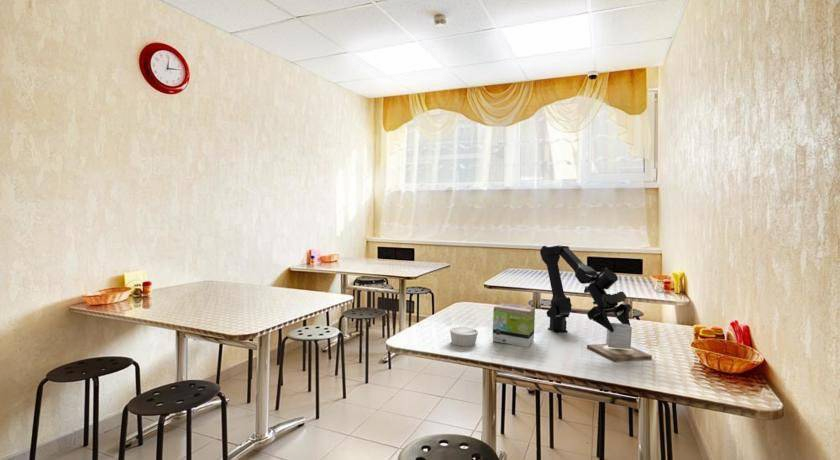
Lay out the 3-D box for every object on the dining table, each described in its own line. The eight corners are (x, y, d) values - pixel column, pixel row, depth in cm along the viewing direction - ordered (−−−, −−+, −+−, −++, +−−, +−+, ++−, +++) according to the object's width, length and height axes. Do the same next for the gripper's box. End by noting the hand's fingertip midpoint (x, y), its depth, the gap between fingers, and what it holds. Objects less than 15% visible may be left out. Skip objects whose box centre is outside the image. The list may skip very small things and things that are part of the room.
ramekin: (476, 348, 165) (476, 335, 165) (448, 346, 167) (448, 333, 167) (478, 340, 176) (478, 328, 176) (451, 338, 178) (451, 326, 178)
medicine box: (627, 346, 164) (628, 324, 164) (630, 349, 160) (632, 327, 159) (605, 344, 166) (607, 322, 165) (608, 347, 161) (609, 325, 161)
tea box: (491, 342, 174) (492, 306, 173) (499, 336, 183) (500, 302, 182) (528, 348, 167) (529, 310, 166) (534, 341, 176) (535, 306, 175)
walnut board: (614, 361, 153) (614, 357, 153) (586, 347, 169) (587, 344, 168) (651, 358, 157) (651, 355, 157) (621, 345, 172) (621, 342, 172)
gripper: (594, 285, 162) (617, 321, 152) (629, 283, 169) (652, 317, 160) (578, 301, 169) (598, 337, 160) (612, 298, 177) (633, 332, 167)
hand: (621, 330), depth 161 cm, fingers closed on medicine box, 8 cm apart
